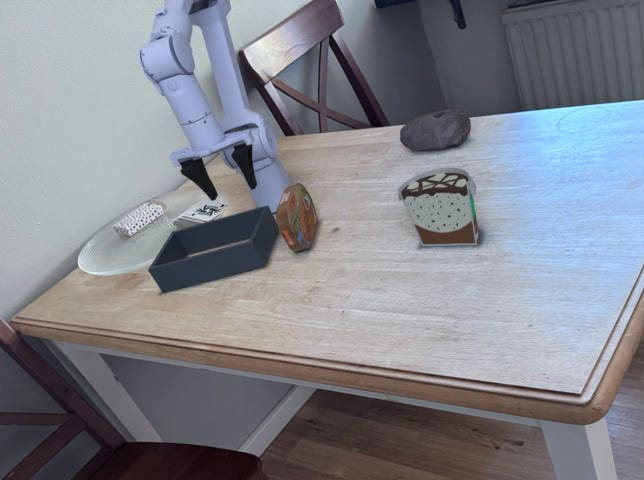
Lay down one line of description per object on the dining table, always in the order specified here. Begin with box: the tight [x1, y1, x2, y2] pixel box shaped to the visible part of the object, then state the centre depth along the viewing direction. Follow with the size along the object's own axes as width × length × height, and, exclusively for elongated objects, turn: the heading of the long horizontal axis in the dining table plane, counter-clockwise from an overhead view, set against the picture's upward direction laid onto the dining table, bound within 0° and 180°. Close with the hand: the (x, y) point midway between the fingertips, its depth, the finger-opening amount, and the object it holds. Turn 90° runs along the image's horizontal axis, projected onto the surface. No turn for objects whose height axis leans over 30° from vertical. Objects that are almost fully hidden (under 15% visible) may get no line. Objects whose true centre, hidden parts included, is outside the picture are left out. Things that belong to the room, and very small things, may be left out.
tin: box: [275, 182, 318, 252], centre depth 112 cm, size 15×3×8 cm, turn 178°
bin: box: [147, 205, 280, 293], centre depth 116 cm, size 14×20×5 cm
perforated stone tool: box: [399, 107, 472, 152], centre depth 125 cm, size 15×5×7 cm, turn 67°
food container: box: [397, 166, 480, 247], centre depth 96 cm, size 12×6×10 cm, turn 65°
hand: (234, 192), depth 112 cm, fingers open, 7 cm apart
